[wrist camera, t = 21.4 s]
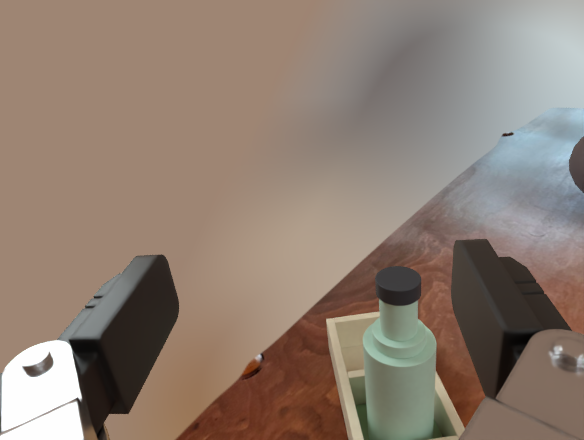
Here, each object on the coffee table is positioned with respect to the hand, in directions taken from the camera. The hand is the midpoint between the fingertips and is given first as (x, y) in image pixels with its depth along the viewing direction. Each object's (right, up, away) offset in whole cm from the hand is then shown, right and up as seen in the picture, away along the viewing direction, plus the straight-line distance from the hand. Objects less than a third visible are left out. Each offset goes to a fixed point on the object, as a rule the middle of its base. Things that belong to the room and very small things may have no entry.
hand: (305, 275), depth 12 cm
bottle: (+9, -16, +24) cm, 30 cm away
